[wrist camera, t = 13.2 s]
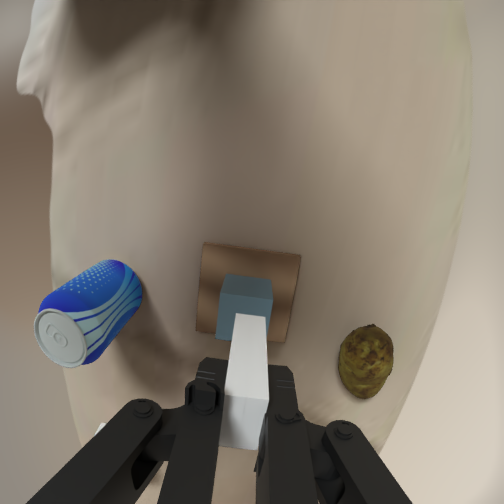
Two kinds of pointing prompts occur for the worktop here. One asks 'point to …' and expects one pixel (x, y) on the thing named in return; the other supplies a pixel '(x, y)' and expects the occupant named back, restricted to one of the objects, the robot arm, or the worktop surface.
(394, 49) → the worktop surface
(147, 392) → the worktop surface
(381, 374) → the brown oval lump
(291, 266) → the tan square panel
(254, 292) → the light blue chamfered box
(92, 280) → the beer can
